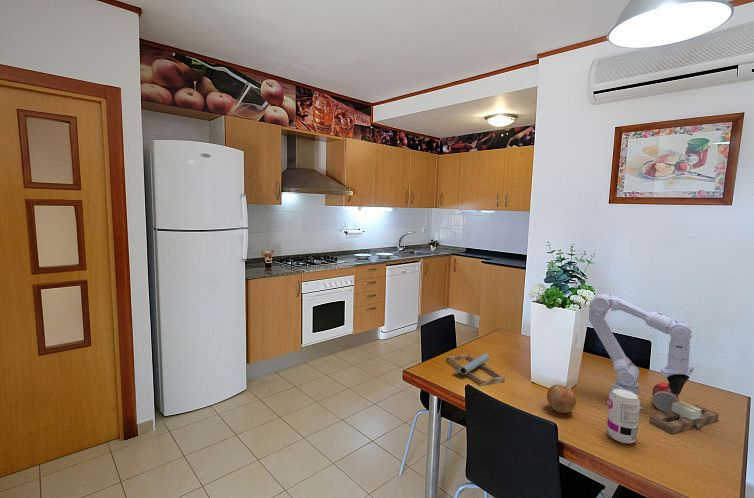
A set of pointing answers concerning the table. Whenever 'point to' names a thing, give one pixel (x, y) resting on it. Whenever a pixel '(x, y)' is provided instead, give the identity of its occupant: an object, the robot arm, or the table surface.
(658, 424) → the wooden slotted frame
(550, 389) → the onion
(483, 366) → the foil cradle
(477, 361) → the aluminum foil
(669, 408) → the canned food
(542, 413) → the table surface
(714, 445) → the table surface
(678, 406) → the rider
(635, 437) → the supplement can
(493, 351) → the table surface
